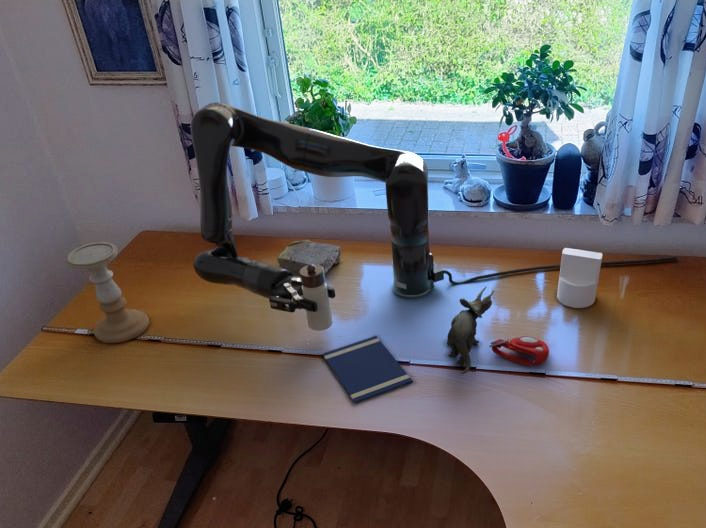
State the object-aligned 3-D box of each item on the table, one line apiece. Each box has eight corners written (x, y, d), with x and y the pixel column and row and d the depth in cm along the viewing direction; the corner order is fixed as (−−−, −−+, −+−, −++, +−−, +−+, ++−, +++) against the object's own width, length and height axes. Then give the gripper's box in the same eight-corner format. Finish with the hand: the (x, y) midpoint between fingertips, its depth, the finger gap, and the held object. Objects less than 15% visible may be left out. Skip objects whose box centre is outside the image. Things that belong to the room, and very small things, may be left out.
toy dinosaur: (466, 390, 126) (466, 345, 119) (426, 381, 129) (425, 337, 122) (493, 329, 142) (495, 286, 135) (458, 322, 145) (458, 280, 138)
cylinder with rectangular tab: (553, 304, 149) (558, 259, 142) (561, 285, 156) (566, 241, 148) (591, 310, 146) (599, 266, 139) (597, 291, 153) (605, 247, 145)
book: (376, 337, 142) (376, 335, 141) (412, 382, 129) (412, 380, 129) (322, 355, 137) (322, 353, 137) (354, 403, 125) (354, 401, 124)
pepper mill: (327, 314, 144) (318, 255, 134) (336, 326, 140) (327, 266, 130) (305, 321, 142) (294, 262, 132) (313, 333, 138) (302, 274, 128)
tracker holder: (533, 331, 139) (560, 345, 131) (530, 349, 141) (557, 365, 132) (486, 334, 134) (512, 350, 126) (484, 354, 136) (509, 370, 127)
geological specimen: (322, 266, 157) (271, 254, 161) (324, 286, 161) (274, 274, 166) (342, 246, 165) (292, 234, 169) (343, 265, 169) (295, 254, 173)
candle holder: (159, 326, 148) (131, 250, 136) (110, 350, 141) (76, 273, 129) (134, 307, 155) (105, 234, 142) (85, 330, 148) (51, 254, 136)
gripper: (241, 281, 136) (301, 302, 128) (285, 252, 145) (343, 270, 138) (248, 310, 140) (306, 331, 133) (291, 280, 150) (347, 299, 142)
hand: (325, 300), depth 135 cm, fingers closed on pepper mill, 5 cm apart
